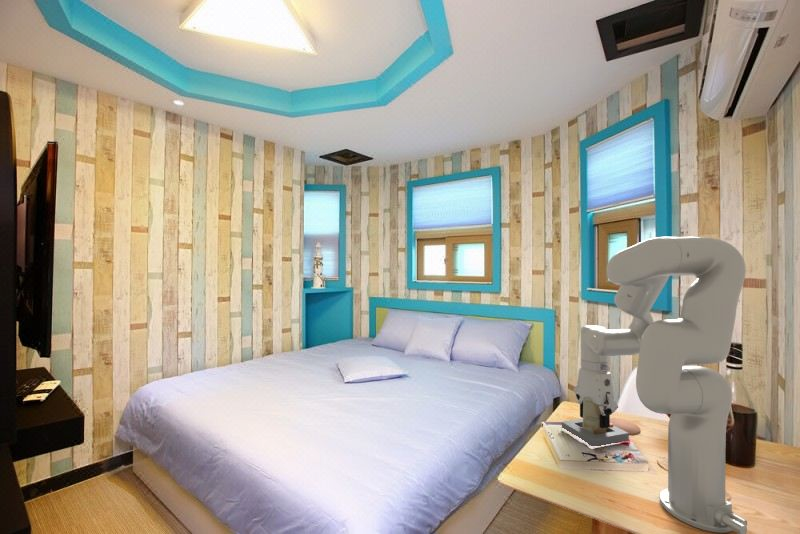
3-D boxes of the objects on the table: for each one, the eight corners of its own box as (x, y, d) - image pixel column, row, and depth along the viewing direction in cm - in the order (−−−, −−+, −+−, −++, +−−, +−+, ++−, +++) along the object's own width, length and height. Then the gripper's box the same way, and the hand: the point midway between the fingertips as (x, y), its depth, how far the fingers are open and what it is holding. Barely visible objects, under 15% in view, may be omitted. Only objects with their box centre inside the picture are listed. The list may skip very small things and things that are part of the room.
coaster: (648, 432, 112) (648, 430, 112) (622, 436, 109) (622, 435, 109) (618, 417, 122) (618, 416, 122) (593, 421, 119) (593, 420, 119)
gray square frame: (628, 442, 105) (628, 430, 105) (591, 449, 101) (591, 437, 101) (596, 425, 117) (596, 414, 117) (561, 430, 113) (561, 419, 113)
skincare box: (583, 438, 108) (583, 398, 108) (582, 431, 112) (582, 394, 112) (607, 442, 105) (607, 402, 105) (605, 435, 109) (605, 397, 109)
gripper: (628, 372, 101) (628, 433, 101) (582, 357, 118) (582, 409, 118) (608, 374, 99) (608, 436, 99) (564, 359, 116) (564, 412, 116)
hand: (594, 421), depth 109 cm, fingers closed on skincare box, 7 cm apart
